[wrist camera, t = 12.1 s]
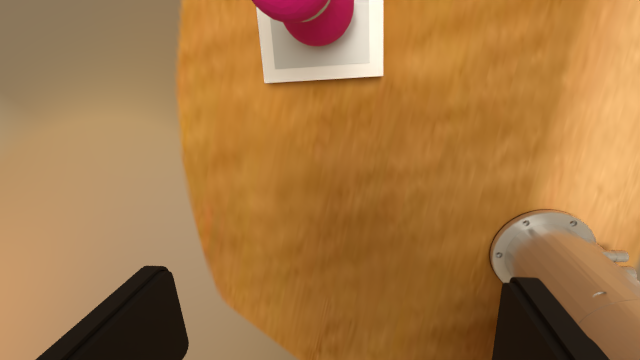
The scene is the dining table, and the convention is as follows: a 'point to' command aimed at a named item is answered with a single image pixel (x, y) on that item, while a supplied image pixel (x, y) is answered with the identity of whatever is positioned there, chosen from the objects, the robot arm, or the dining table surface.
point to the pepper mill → (310, 18)
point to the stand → (324, 49)
